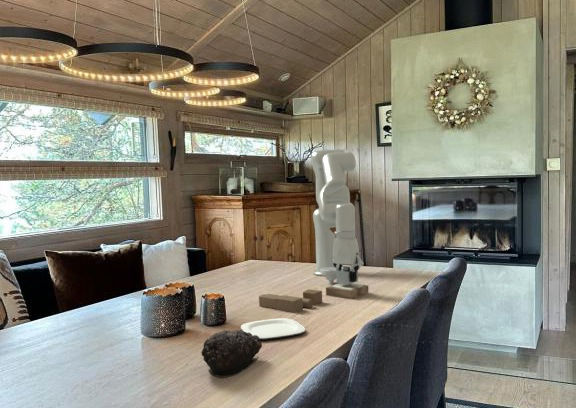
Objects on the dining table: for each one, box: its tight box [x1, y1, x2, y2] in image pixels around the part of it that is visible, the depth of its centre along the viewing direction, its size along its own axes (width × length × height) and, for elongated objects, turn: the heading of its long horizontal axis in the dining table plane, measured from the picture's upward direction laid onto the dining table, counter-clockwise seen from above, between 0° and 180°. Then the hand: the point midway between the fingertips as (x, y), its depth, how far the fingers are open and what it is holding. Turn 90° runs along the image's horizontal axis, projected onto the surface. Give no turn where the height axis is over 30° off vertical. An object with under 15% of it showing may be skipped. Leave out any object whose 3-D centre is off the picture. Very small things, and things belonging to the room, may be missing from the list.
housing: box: [336, 265, 359, 285], centre depth 203 cm, size 7×6×6 cm
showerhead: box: [320, 267, 337, 285], centre depth 224 cm, size 9×7×10 cm
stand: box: [325, 282, 369, 300], centre depth 203 cm, size 12×12×3 cm
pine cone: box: [201, 329, 263, 378], centre depth 129 cm, size 10×18×10 cm, turn 154°
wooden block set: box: [258, 289, 323, 314], centre depth 190 cm, size 17×6×18 cm
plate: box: [240, 317, 306, 340], centre depth 158 cm, size 18×18×2 cm
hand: (347, 280), depth 203 cm, fingers closed on housing, 5 cm apart
